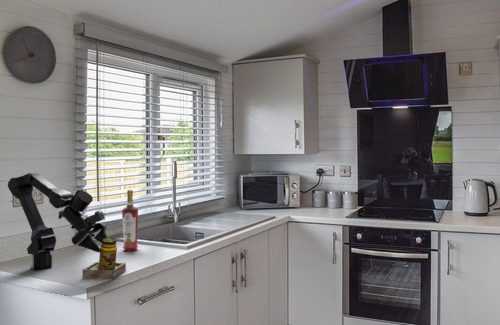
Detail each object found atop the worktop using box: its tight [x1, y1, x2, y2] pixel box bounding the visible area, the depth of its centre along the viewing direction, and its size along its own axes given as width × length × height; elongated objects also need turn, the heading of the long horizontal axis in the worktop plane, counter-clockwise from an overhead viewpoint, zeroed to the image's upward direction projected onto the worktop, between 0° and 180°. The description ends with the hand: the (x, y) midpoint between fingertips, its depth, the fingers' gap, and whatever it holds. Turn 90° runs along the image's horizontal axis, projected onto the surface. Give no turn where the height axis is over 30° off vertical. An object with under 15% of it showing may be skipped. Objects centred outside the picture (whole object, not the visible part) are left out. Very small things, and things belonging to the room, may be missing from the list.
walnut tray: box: [81, 261, 127, 280], centre depth 170 cm, size 12×11×3 cm
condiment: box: [90, 236, 118, 270], centre depth 169 cm, size 7×8×12 cm
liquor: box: [121, 189, 139, 252], centre depth 208 cm, size 7×7×28 cm
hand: (105, 248), depth 170 cm, fingers open, 9 cm apart
